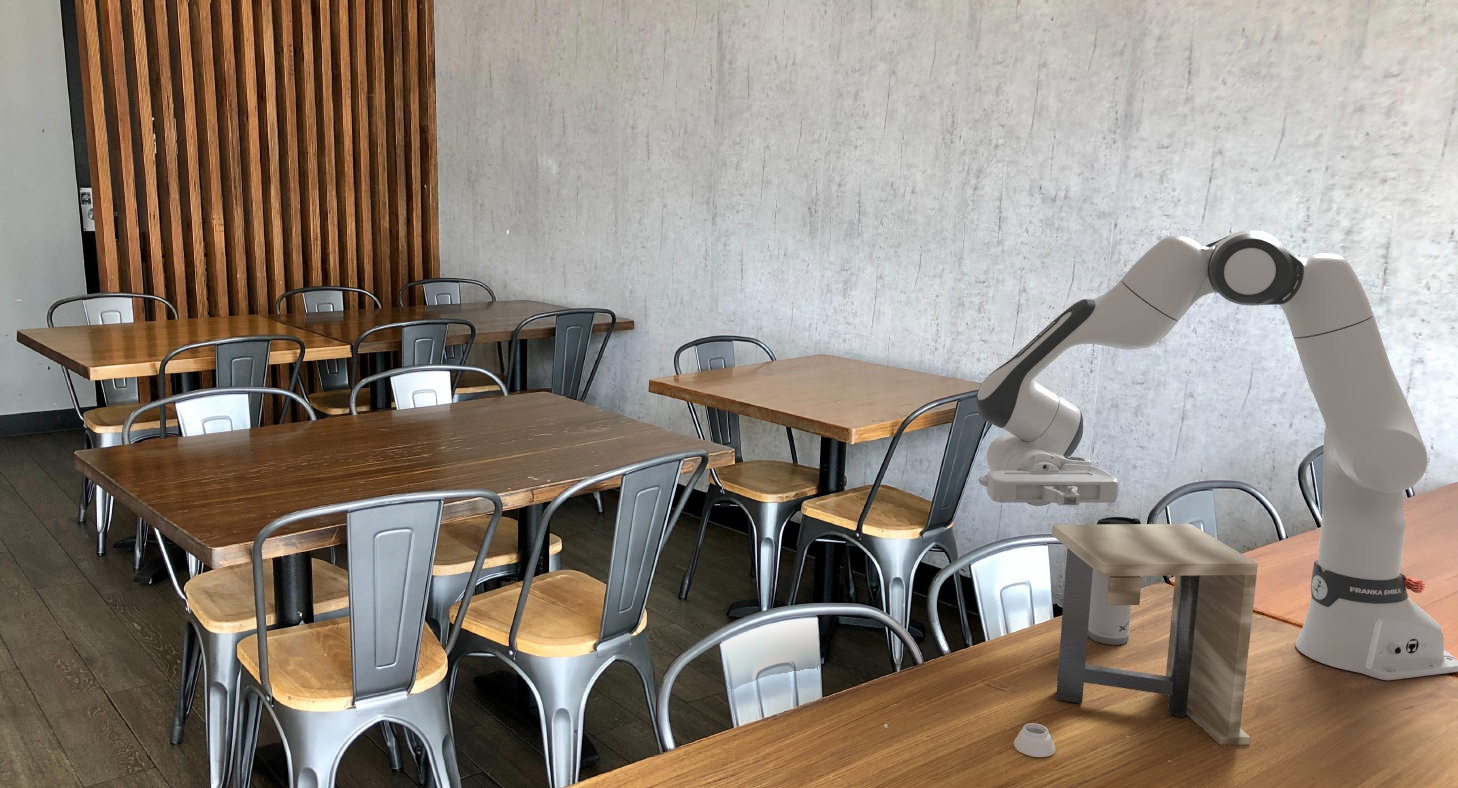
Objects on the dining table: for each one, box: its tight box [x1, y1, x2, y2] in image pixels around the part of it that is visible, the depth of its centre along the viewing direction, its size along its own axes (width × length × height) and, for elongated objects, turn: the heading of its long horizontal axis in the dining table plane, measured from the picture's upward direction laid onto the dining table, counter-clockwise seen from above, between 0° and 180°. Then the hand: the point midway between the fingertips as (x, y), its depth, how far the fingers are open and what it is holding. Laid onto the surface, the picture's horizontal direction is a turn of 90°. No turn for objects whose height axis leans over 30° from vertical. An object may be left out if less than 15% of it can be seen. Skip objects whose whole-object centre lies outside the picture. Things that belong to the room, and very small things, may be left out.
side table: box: [1051, 523, 1259, 746], centre depth 144 cm, size 22×17×24 cm
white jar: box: [1013, 722, 1056, 758], centre depth 136 cm, size 5×3×5 cm
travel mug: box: [1088, 516, 1142, 646], centre depth 171 cm, size 6×7×20 cm
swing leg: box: [1055, 547, 1200, 717], centre depth 147 cm, size 17×4×22 cm, turn 71°
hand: (1070, 500), depth 161 cm, fingers closed
